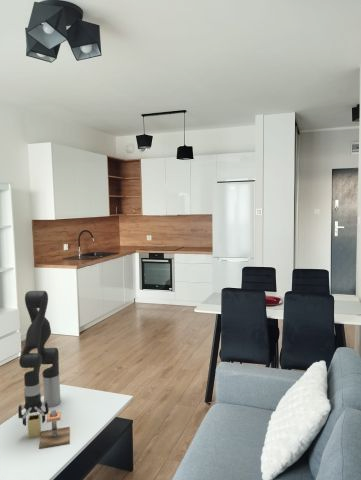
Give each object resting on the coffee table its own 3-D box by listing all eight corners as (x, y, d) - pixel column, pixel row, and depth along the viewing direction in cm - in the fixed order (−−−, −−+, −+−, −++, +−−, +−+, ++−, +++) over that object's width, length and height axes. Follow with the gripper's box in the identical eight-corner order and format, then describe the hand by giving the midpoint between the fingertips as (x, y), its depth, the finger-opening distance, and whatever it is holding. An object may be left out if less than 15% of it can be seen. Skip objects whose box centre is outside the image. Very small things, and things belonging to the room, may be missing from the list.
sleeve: (29, 432, 210) (28, 415, 209) (41, 430, 211) (40, 413, 210) (28, 438, 204) (27, 421, 204) (40, 436, 206) (39, 419, 205)
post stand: (41, 433, 208) (39, 407, 207) (69, 428, 212) (68, 402, 211) (39, 448, 195) (37, 420, 194) (69, 443, 198) (68, 416, 197)
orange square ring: (47, 416, 205) (47, 413, 205) (60, 414, 206) (60, 411, 206) (46, 422, 199) (46, 419, 199) (60, 420, 200) (60, 417, 200)
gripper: (47, 387, 211) (49, 417, 212) (18, 391, 208) (20, 422, 209) (46, 393, 204) (48, 425, 205) (16, 397, 200) (18, 429, 201)
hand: (34, 423), depth 207 cm, fingers open, 8 cm apart
